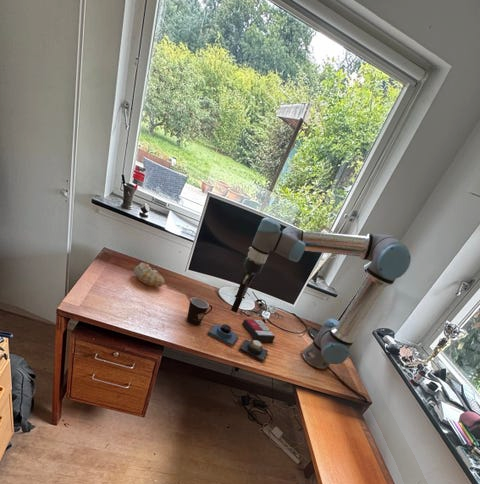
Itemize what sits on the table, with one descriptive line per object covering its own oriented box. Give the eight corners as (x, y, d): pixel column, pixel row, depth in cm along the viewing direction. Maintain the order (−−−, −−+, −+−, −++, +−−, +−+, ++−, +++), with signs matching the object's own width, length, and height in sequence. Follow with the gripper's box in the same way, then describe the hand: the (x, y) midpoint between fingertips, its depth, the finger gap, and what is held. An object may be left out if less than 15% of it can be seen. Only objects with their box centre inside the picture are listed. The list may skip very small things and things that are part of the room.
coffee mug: (185, 324, 155) (191, 305, 149) (183, 314, 161) (189, 295, 154) (209, 330, 159) (216, 311, 153) (207, 320, 165) (213, 302, 159)
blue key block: (237, 337, 164) (240, 331, 162) (231, 346, 156) (233, 340, 154) (215, 326, 164) (217, 320, 162) (207, 334, 156) (210, 328, 154)
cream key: (261, 346, 160) (262, 343, 159) (258, 350, 157) (260, 347, 155) (252, 342, 160) (254, 338, 159) (250, 346, 157) (252, 342, 155)
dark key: (230, 331, 160) (232, 327, 159) (227, 334, 157) (229, 331, 155) (222, 326, 160) (224, 323, 159) (219, 330, 156) (220, 326, 155)
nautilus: (133, 267, 176) (161, 277, 182) (130, 284, 160) (162, 294, 166) (136, 252, 171) (166, 263, 177) (134, 268, 156) (166, 279, 162)
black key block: (266, 353, 164) (269, 347, 162) (261, 362, 157) (265, 356, 154) (244, 341, 164) (247, 335, 162) (238, 350, 156) (241, 344, 154)
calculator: (261, 319, 180) (276, 335, 171) (258, 326, 182) (272, 342, 174) (244, 317, 174) (258, 334, 165) (241, 325, 176) (255, 341, 168)
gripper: (251, 252, 142) (230, 302, 156) (242, 259, 131) (221, 311, 146) (267, 261, 142) (245, 310, 157) (259, 268, 132) (237, 320, 146)
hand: (233, 310), depth 151 cm, fingers closed
